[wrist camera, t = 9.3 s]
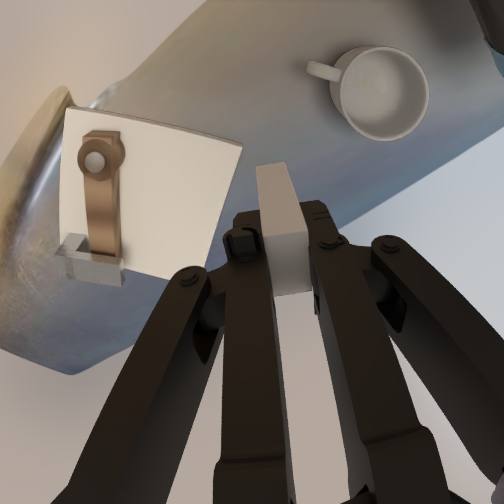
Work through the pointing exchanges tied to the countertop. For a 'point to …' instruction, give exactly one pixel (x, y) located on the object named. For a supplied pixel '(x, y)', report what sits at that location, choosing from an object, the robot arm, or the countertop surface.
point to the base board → (152, 188)
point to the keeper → (87, 263)
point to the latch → (102, 189)
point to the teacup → (377, 90)
